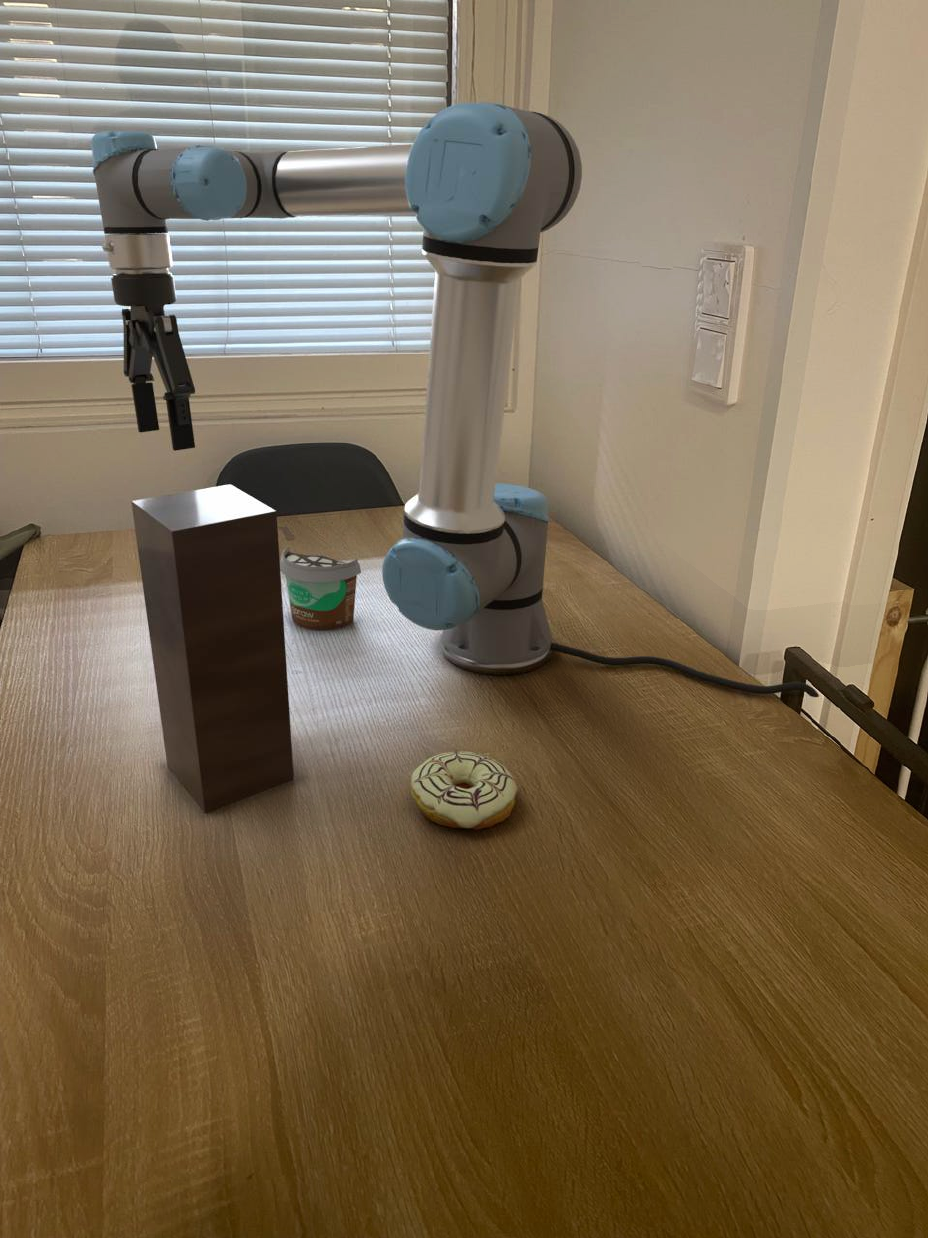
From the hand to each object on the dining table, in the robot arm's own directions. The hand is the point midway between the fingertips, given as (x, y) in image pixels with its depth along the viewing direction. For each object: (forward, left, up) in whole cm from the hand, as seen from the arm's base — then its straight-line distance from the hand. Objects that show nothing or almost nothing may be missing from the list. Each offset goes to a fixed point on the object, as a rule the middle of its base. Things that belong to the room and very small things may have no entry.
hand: (165, 439), depth 123 cm
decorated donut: (-40, +45, -26) cm, 66 cm away
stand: (-15, +40, -26) cm, 50 cm away
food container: (-19, +3, -26) cm, 32 cm away
